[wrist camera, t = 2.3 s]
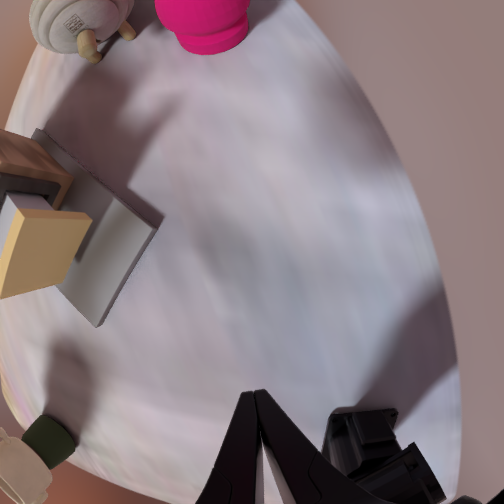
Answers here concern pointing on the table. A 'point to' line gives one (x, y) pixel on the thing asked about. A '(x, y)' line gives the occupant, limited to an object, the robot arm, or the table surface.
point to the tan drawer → (36, 242)
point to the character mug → (32, 460)
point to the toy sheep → (79, 24)
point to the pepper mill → (205, 23)
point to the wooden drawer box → (86, 201)
